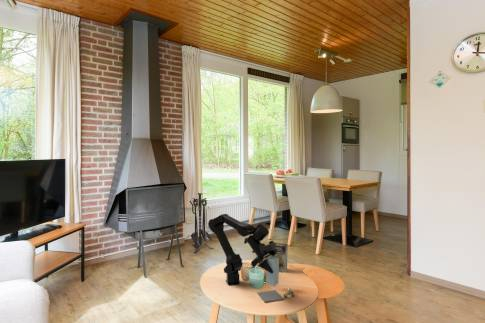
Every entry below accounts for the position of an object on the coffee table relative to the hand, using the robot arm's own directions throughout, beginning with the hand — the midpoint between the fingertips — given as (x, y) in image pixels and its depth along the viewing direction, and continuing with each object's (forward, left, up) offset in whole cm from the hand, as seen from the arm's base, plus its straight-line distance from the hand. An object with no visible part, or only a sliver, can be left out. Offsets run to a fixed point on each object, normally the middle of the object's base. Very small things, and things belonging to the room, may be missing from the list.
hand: (274, 271), depth 152 cm
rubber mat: (-2, +1, -13) cm, 13 cm away
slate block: (-1, +1, -7) cm, 7 cm away
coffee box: (+17, +33, -13) cm, 40 cm away
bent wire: (+7, 0, -13) cm, 15 cm away
